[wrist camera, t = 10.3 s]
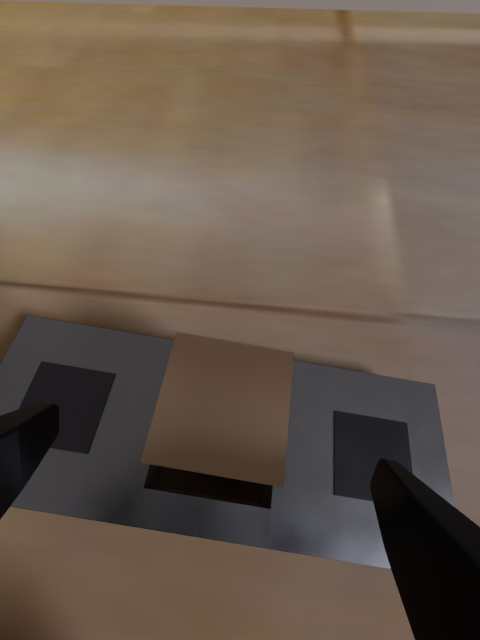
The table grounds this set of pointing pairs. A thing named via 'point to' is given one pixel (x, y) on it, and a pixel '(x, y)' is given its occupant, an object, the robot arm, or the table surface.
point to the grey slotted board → (206, 510)
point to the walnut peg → (223, 411)
